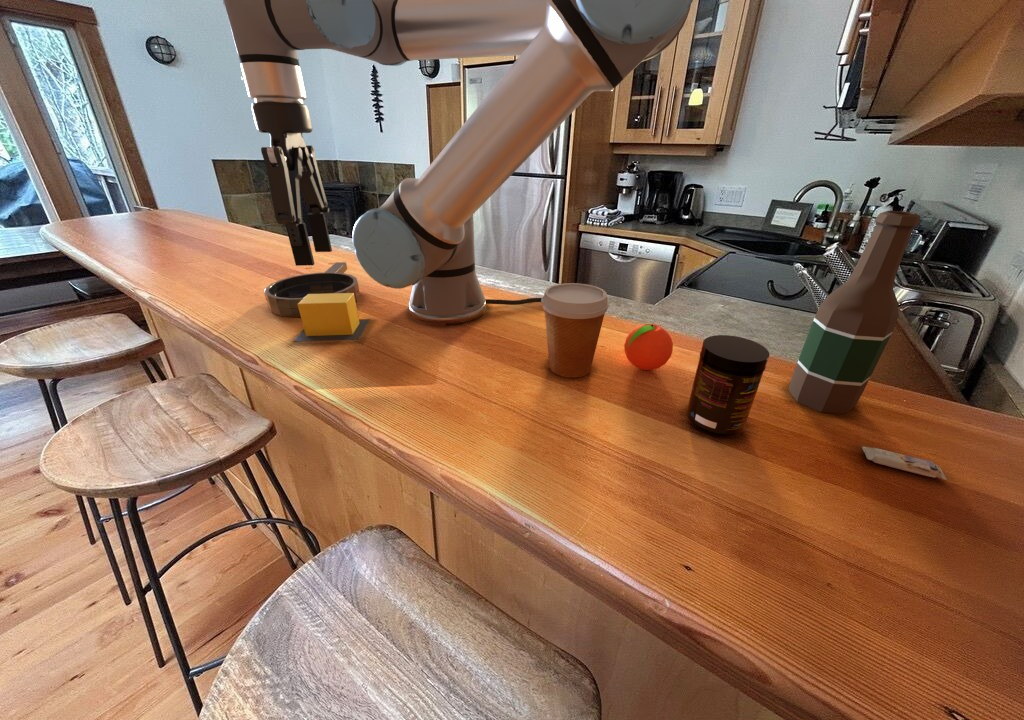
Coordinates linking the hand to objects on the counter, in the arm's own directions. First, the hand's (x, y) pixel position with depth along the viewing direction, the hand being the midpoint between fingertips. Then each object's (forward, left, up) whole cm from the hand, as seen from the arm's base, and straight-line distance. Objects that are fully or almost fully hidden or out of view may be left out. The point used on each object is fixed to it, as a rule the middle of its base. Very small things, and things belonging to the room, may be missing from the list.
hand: (315, 257), depth 71 cm
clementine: (-52, +20, -13) cm, 58 cm away
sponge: (-1, +3, -12) cm, 13 cm away
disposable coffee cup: (-41, +19, -13) cm, 47 cm away
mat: (-1, +3, -13) cm, 13 cm away
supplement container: (-56, +34, -13) cm, 67 cm away
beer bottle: (-73, +30, -13) cm, 80 cm away
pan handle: (+7, -27, -11) cm, 29 cm away
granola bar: (-72, +43, -13) cm, 85 cm away
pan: (+7, -12, -13) cm, 19 cm away
